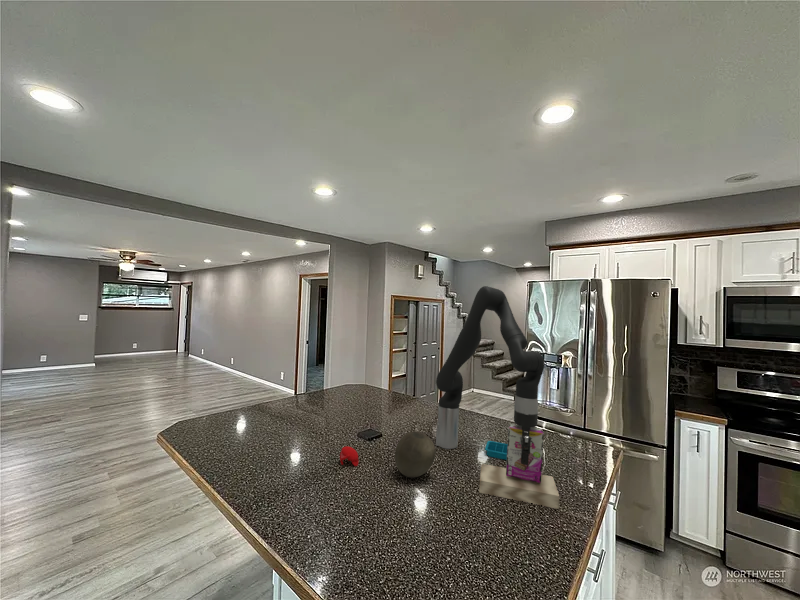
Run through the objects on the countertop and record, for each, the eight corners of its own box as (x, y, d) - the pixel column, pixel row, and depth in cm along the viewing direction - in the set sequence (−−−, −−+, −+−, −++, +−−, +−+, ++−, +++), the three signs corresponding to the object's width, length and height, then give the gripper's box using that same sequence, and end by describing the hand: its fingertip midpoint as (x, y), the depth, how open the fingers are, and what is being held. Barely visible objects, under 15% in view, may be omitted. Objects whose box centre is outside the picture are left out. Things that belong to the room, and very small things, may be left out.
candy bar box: (505, 476, 109) (508, 427, 110) (506, 470, 114) (508, 422, 115) (542, 484, 106) (544, 432, 106) (540, 477, 110) (542, 428, 111)
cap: (333, 456, 121) (344, 451, 119) (342, 445, 127) (352, 440, 124) (346, 473, 122) (357, 468, 119) (353, 461, 127) (364, 457, 124)
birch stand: (479, 492, 107) (479, 480, 108) (481, 474, 120) (481, 463, 120) (558, 509, 100) (559, 495, 101) (552, 488, 113) (552, 476, 113)
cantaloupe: (405, 489, 107) (408, 442, 108) (387, 469, 120) (389, 428, 120) (441, 481, 113) (443, 437, 114) (420, 463, 126) (422, 424, 127)
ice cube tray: (536, 467, 129) (536, 460, 129) (484, 456, 136) (484, 449, 137) (535, 456, 140) (536, 449, 140) (487, 447, 147) (487, 440, 147)
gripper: (513, 403, 119) (511, 450, 118) (515, 414, 105) (513, 467, 104) (535, 406, 117) (533, 454, 116) (540, 417, 103) (538, 472, 102)
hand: (523, 460), depth 110 cm, fingers closed on candy bar box, 5 cm apart
